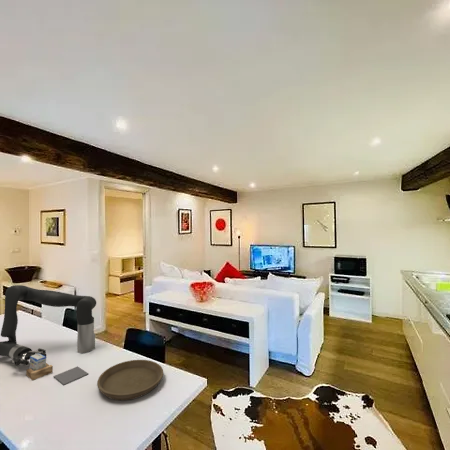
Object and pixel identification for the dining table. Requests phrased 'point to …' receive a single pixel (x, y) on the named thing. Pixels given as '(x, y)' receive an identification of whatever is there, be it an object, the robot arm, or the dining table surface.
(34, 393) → the dining table surface
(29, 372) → the bracket
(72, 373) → the mat
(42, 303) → the robot arm
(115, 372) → the plant saucer
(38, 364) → the medicine box
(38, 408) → the dining table surface
